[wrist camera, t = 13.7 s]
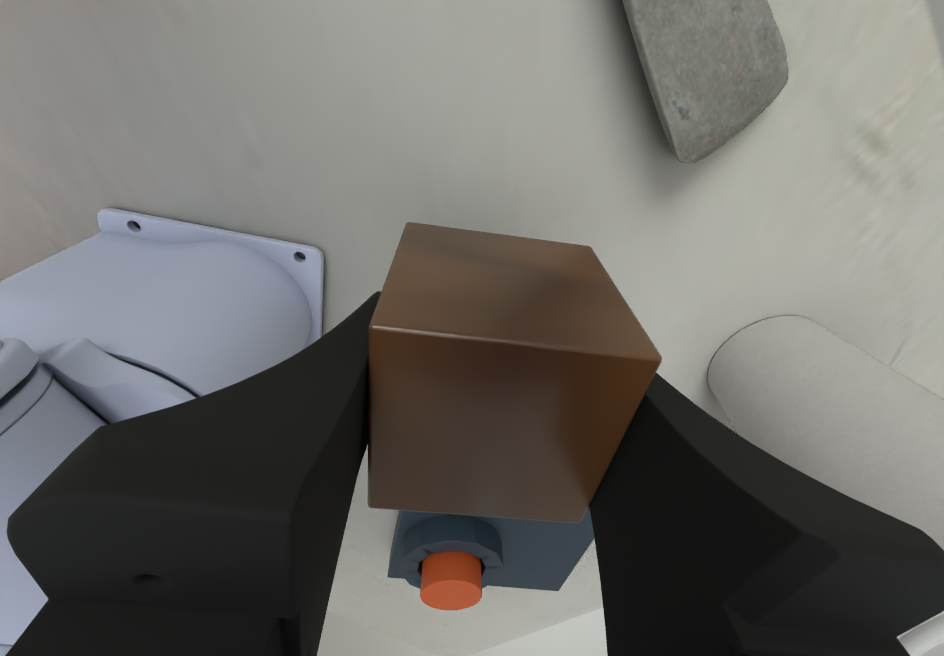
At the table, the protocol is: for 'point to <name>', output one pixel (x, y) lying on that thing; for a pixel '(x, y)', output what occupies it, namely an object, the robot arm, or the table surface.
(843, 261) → the table surface
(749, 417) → the coffee cup
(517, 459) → the walnut block
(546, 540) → the grey base slab
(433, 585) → the lid button
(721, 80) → the decorative stone
